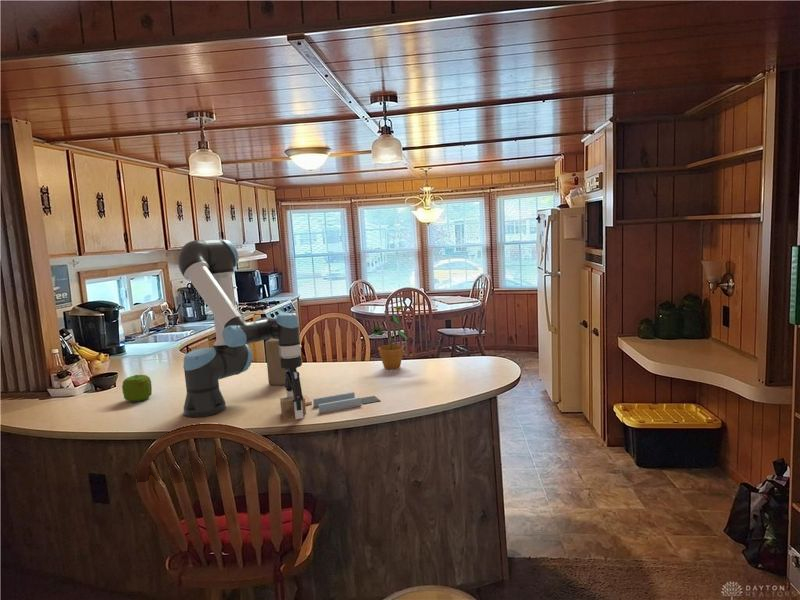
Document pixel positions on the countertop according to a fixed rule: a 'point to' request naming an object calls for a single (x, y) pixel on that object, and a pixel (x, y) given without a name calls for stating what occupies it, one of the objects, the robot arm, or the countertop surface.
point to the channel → (337, 402)
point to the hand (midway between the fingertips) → (295, 413)
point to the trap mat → (369, 400)
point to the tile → (307, 400)
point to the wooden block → (274, 363)
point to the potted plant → (391, 346)
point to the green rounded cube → (137, 388)
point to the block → (290, 406)
